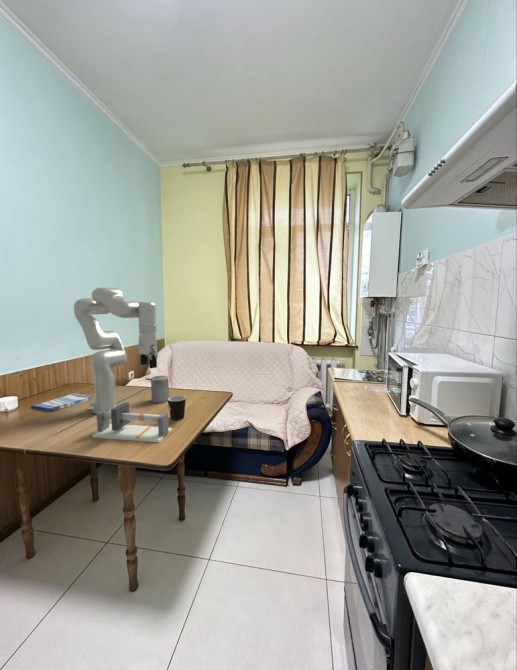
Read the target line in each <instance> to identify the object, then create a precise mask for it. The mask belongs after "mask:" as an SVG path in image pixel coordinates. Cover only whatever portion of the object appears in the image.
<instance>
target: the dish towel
mask: <svg viewBox="0 0 517 670" xmlns="http://www.w3.org/2000/svg"><path fill="white" fill-rule="evenodd" d="M90 400H92V396H90V395H85V394H78V393H77V392H76V393H74V392H73V393H69V394H68V395H65V396H61V397H58V398H55V399H51V400H47V401H43V402H42V403H37V404H33V405H31V406H30V408H32V409H34V408H35V410H39V411H44V412H48V413H52V412H55V411H58V410H62V409H66V408H68V407H71V406H75V405H79V404H81V403H84V402H87V401H90Z"/></svg>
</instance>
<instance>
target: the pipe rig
mask: <svg viewBox="0 0 517 670" xmlns="http://www.w3.org/2000/svg"><path fill="white" fill-rule="evenodd" d="M120 416H121V420H130V421H134V422H136V421H137V422H144V423H146V422H147V423H148V422H150V423H157V424H158V425H157V426H151V425H148V426H147V425H135V424H126V425H125V426H124V427H122V428H121V429H119V430H118V431H115V430H112V423H110V420H111V412H109V411H108V410H103V411H101V412H99V413H97V414H96V427H97V431H96V432H94V433H93V434H91V438H95V439H97V438H98V439H110V440H120V441H121V440H123V441H135V442H149V443H160V442H162V440H164V438H166V437H167V436H168V435H169V433H170V432H172V431H173V427H169V414H168V412H163V413H162V414H151V413H149V414H148V413H133V412H129V413H120Z"/></svg>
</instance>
